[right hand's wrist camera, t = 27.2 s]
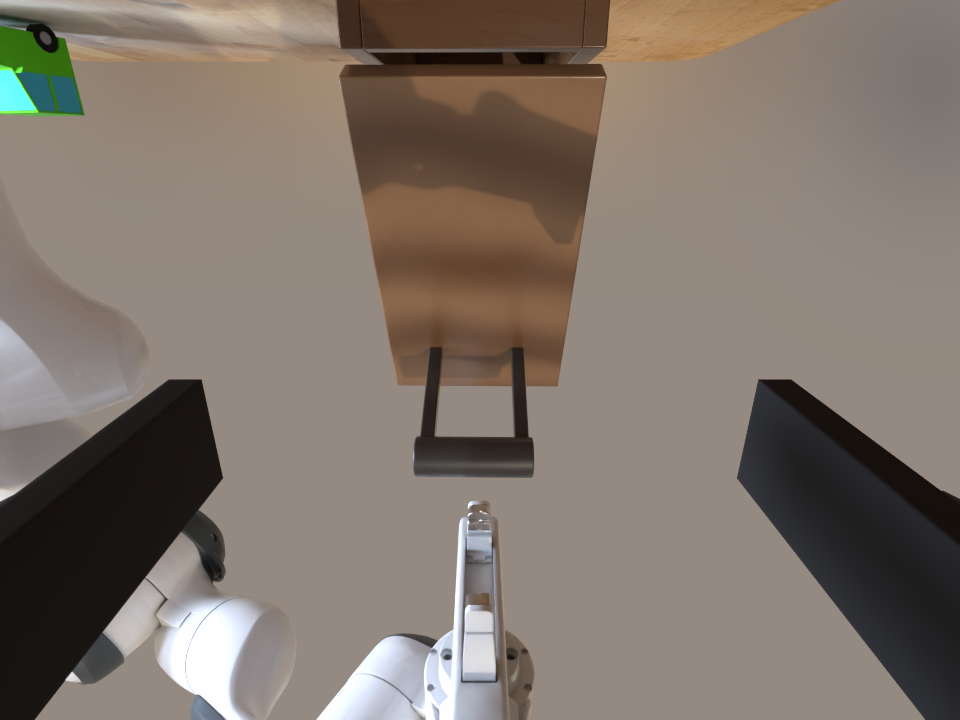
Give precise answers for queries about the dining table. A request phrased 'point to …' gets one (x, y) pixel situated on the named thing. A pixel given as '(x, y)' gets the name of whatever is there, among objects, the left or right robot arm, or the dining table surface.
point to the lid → (474, 230)
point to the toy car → (36, 74)
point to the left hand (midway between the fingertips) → (479, 548)
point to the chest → (472, 31)
